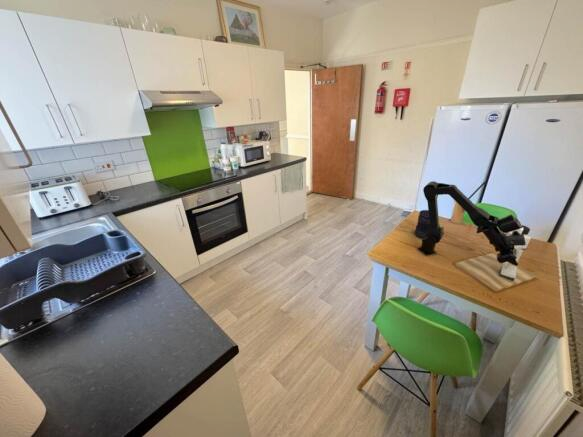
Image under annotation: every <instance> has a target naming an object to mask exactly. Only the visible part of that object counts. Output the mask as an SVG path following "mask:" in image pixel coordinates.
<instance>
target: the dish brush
mask: <svg viewBox="0 0 583 437" xmlns="http://www.w3.org/2000/svg"><path fill="white" fill-rule="evenodd" d="M513 251H515V252H516V261H517V263H518V262H519V260H520V258H521V256H522V254H523V252H524V249H519V248H514V250H513ZM516 268H517V267H515V265H513V264H511V263H509V262H508V265H507V264H504V263H503V264H502V266H501V269H500V277H503V278H506V279H509V280H512V281H514V279H515V277H516Z"/></svg>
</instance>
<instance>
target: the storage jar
mask: <svg viewBox="0 0 583 437" xmlns="http://www.w3.org/2000/svg"><path fill="white" fill-rule="evenodd" d="M429 228H430V224H429V212H428V209H421V210H420V211H419V214H418V216H417V224H416V226H415V230H414V236H415V237H416V238H418V239H421V240H423V238H424V237H425V235H426V234H427V233H428V232H429Z"/></svg>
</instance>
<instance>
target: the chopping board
mask: <svg viewBox="0 0 583 437" xmlns="http://www.w3.org/2000/svg"><path fill="white" fill-rule="evenodd" d="M502 264H503V263H499V262H498V260H497V253H494V252H490V253H486V254H482V255H479V256H476V257H472V258H468V259H464V260H461V261H457V262H455V263H454V266H455V267H457V268H458V269H460V270H461V271H463V272H464V273H466V274H468V276H470V277H472V278H473V279H475V280H476V281H478V282H479V283H481V284H482V285H483V286H485V287H486V288H488V289H490V290H491V291H493V292H494V293H496V292H498V291H502V290H505V289H508V288H510V287H514V286H518V285H519V284H524V283H526V282H529V281H532V280H536V278H538V277H537V275H534V274H533V273H531V272H529V271H528V270H526V269H524V268H523V267H520V266H519V265H517V266H515V267H517V268H516V277H515V279H514V281H512V280H509V279H506V278H503V277H500V269H501V266H502ZM504 264H507V265H508V262H504Z"/></svg>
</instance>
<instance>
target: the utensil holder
mask: <svg viewBox="0 0 583 437" xmlns="http://www.w3.org/2000/svg"><path fill="white" fill-rule="evenodd" d="M485 184H486V181H483V182H482V183H481V185H479V186H478V187H477V188H476V190H474V192H473V193H471V195H470V196H469V197H467V198H468V199H469V200H470V201H471V202H472V203H473V201H472V200H471V198H472V197H473V196H474V195H475V194H476V193H477V192H478V191H479V190H480V189H481V188H482V187H484V185H485ZM452 199H453V198H452ZM466 214H467V212H466V211H465V210H464V209H463V208H462V207H461V206H460V205H459V204H458V203H457V202H456V201H455V200H454V199H453V204H452V210H451V215H450V220H449V221H450V222H451V223H453V224H462V222H463V220H464V218H465V216H466Z"/></svg>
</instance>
